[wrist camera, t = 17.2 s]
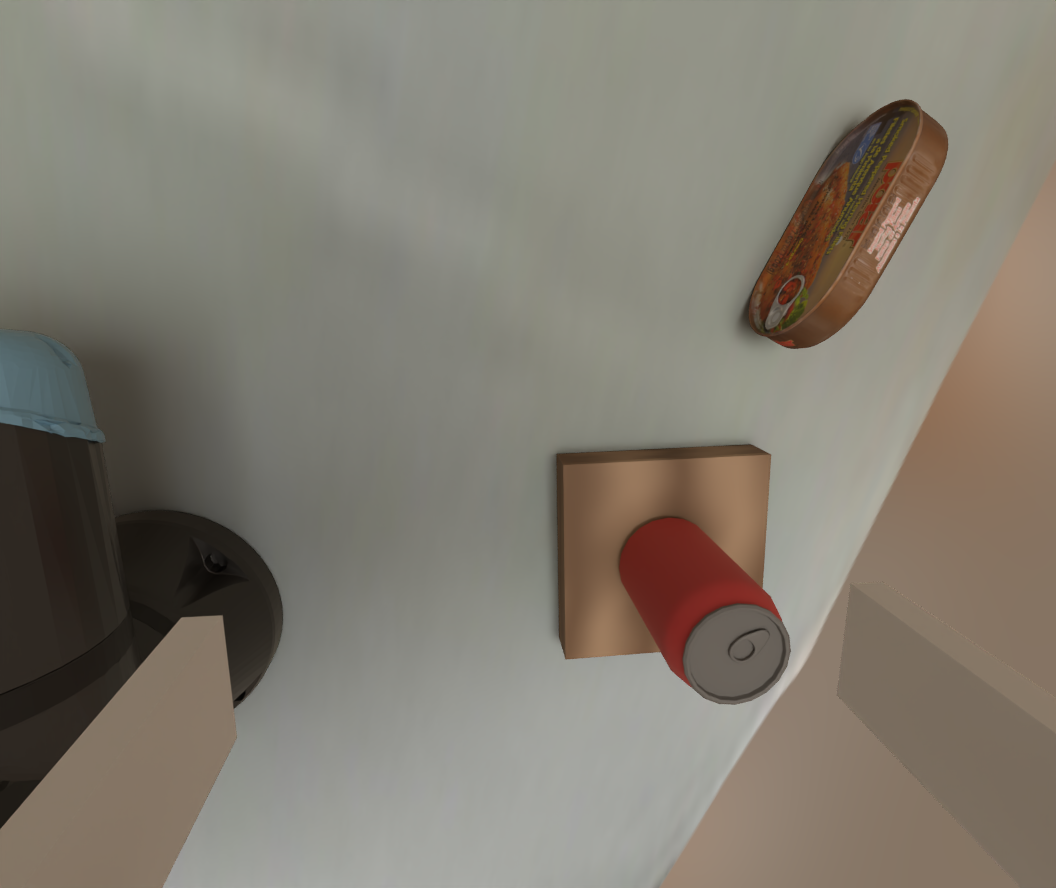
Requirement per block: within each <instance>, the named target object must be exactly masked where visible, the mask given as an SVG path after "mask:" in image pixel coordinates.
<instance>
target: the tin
mask: <svg viewBox="0 0 1056 888" xmlns="http://www.w3.org/2000/svg"><path fill="white" fill-rule="evenodd" d="M947 151H948V138H947V134H946V131H945V130H944V128H943V127H942V126H941V125H940V124H939V123H938V122H937V121H936V120H934V119H933V118H932V117H931V116H929V115H928V114H927V113H925V112H924V111H923V110H921V107H920V106H919V105H918V103H916V102H914V101H912V100H907V99H904V100H899V101H895V102H892V103H890V104H888V105H886V106H884V107H882V108H880V109H879V110H877V111H876V112H874V113H873V114H871V115H870V116H869V117H867V118H866V119H865V120H864V121H862V122H861V123H860V124H859V125H858V126H856V127H855V128H854V129H853V130H852V131H851V132H850V133H849V134H848V135H847V136H846V137H845V138H844V139H843V140H842V141H841V142H840V143H839V144H838V145H837V147H836V148H835V149H834V150H833V152H832V153H831V154H830V155H829V157H828V158H827V159H826V161H825V162H824V164H823V165H822V167H821V168H820V170H819V171H818V173H817V175H816V176H815V178H814V180H813V181H812V183H811V185H810V187H809V189H808V191H807V192H806V194H805V196H804V198H803V200H802V201H801V203H800V205H799V207H798V208H797V210H796V212H795V214H794V216H793V218H792V220H791V221H790V223H789V225H788V227H787V229H786V230H785V232H784V234H783V236H782V238H781V240H780V241H779V243H778V245H777V246H776V248H775V250H774V252H773V254H772V256H771V257H770V259H769V261H768V263H767V265H766V266H765V268H764V270H763V272H762V274H761V276H760V277H759V279H758V281H757V283H756V286H755V288H754V291H753V294H752V297H751V301H750V305H749V322H750V325H751V327H752V329H753V330H754V331H755V332H756V333H757V334H759V335H762V336H766V337H768V338H769V339H771V340H773V341H774V342H776V343H778V344H780V345H782V346H784V347H786V348H791V349H798V348H807V347H812V346H815V345H817V344H819V343H821V342H823V341H825V340H826V339H828V338H829V337H831V336H832V335H834V334H835V333H836V332H838V331H839V330H840V329H841V328H842V327H844V326H845V325H846V324H847V323H848V322H849V321H850V320H851V318H852V317H853V316H854V315H855V314H856V313H857V312H858V310H859V309H860V308H861V307H862V306H863V304H864V303H865V301H866V300H867V298H868V297H869V295H870V294H871V292H872V290H873V288H874V287H875V285H876V283H877V282H878V280H879V278H880V277H881V275H882V273H883V272H884V270H885V268H886V266H887V265H888V263H889V261H890V260H891V258H892V256H893V254H894V253H895V251H896V249H897V247H898V246H899V244H900V242H901V241H902V239H903V237H904V236H905V234H906V232H907V230H908V229H909V227H910V225H911V223H912V222H913V220H914V218H915V216H916V215H917V213H918V211H919V209H920V208H921V206H922V204H923V203H924V201H925V199H926V197H927V196H928V194H929V192H930V190H931V189H932V187H933V185H934V183H935V182H936V180H937V178H938V176H939V174H940V172H941V170H942V168H943V165H944V163H945V159H946V156H947Z"/></svg>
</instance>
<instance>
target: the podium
mask: <svg viewBox="0 0 1056 888" xmlns="http://www.w3.org/2000/svg"><path fill="white" fill-rule="evenodd" d="M770 464H771V454H769V453H767V452H765V451H763V450H761V449H759V448H757V447H755V446H753V445H730V446H710V447H689V448H669V449H648V450H628V451H607V452H586V453H566V454H557V522H558V592H559V638H560V642H561V645H562V649H563V652H564V656H565V659H577V658H589V657H602V656H615V655H627V654H640V653H653V652H661V651H660V650H659V648H658V646H657V644H656V643H655V641H654V639H653V637H652V635H651V634H650V632H649V630H648V628H647V626H646V625H645V623H644V621H643V619H642V618H641V616H640V614H639V612H638V610H637V609H636V607H635V605H634V603H633V602H632V600H631V598H630V596H629V594H628V593H627V591H626V589H625V587H624V585H623V584H622V582H621V577H620V571H619V564H620V558H621V553H622V551H623V549H624V547H625V545H626V543H627V541H628V539H629V538H630V537H631V536H632V535H633V534H634V533H635V532H636V531H637V530H638V529H639V528H641V527H643V526H644V525H646V524H648V523H650V522H652V521H655V520H660V519H664V518H677V519H684V520H687V521H689V522H691V523H693V524H696V525H697V526H698V527H699V528H700V529H701V530H702V531H703V532H705V533H706V534H707V535H708V536H709V537H710V538H711V539H712V540H713V541H714V542H715V543H716V544H717V545H718V546H719V547H720V548H721V549H722V550H723V551H724V552H725V553H726V554H727V555H728V556H729V557H730V558H731V559H732V560H733V561H734V562H736V563H737V564H738V565H739V566H740V567H741V568H742V569H743V570H744V571H745V572H746V573H747V574H748V575H749V576H750V577H751V578H752V579H753V580H754V581H755V582H756V583H757V584H758V585H759V586H760V587H761V588H763V572H764V557H765V541H766V526H767V511H768V495H769V480H770Z"/></svg>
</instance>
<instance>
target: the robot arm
mask: <svg viewBox="0 0 1056 888" xmlns="http://www.w3.org/2000/svg"><path fill="white" fill-rule="evenodd" d="M103 442H106V440H105V435H104V433H103V432H102V431H101V430H100V429H99V428H97V425H96V421H95V417H94V412H93V408H92V404H91V400H90V396H89V392H88V388H87V384H86V380H85V375H84V371H83V369H82V366H81V364H80V362H79V360H78V359H77V357H76V356H75V355H74V354H73V352H72V351H71V350H69V349H68V348H67V347H66V346H65V345H63V344H62V343H60V342H59V341H57V340H55V339H53V338H51V337H48V336H46V335H43V334H39V333H35V332H29V331H20V330H10V329H0V888H162V887H163V885H164V883H165V881H166V879H167V877H168V875H169V873H170V871H171V869H172V867H173V865H174V863H175V861H176V859H177V857H178V855H179V853H180V851H181V849H182V847H183V845H184V843H185V841H186V839H187V837H188V835H189V833H190V831H191V829H192V827H193V825H194V823H195V821H196V819H197V817H198V815H199V813H200V811H201V809H202V807H203V805H204V803H205V801H206V799H207V797H208V795H209V793H210V791H211V789H212V787H213V785H214V783H215V781H216V779H217V777H218V775H219V773H220V771H221V769H222V766H223V764H224V762H225V760H226V758H227V756H228V754H229V752H230V750H231V748H232V746H233V744H234V742H235V740H236V738H237V733H236V725H235V716H234V708H235V707H237V706H238V705H239V704H240V703H241V702H243V701H244V700H245V699H246V698H247V697H248V696H249V695H250V693H251V692H252V691H253V690H254V689H255V687H256V686H257V685H258V683H259V682H260V680H261V679H262V677H263V676H264V674H265V672H266V670H267V668H268V666H269V664H270V663H271V661H272V659H273V657H274V655H275V652H276V650H277V647H278V645H279V641H280V637H281V632H282V623H283V614H282V605H281V599H280V595H279V592H278V589H277V586H276V583H275V581H274V579H273V577H272V575H271V573H270V571H269V569H268V568H267V566H266V565H265V563H264V562H263V561H262V559H261V558H260V557H259V556H258V554H257V553H256V552H255V551H254V550H253V549H252V548H251V547H250V546H249V545H248V544H247V543H246V542H244V541H243V540H242V539H241V538H239V537H238V536H237V535H235V534H234V533H232V532H231V531H229V530H228V529H226V528H224V527H222V526H220V525H218V524H216V523H214V522H212V521H209V520H207V519H204V518H201V517H198V516H195V515H191V514H187V513H181V512H175V511H162V510H155V511H141V512H135V513H130V514H125V515H122V516H119V517H116V518H115V516H114V511H113V505H112V499H111V493H110V488H109V482H108V476H107V470H106V465H105V459H104V453H103V447H102V443H103ZM837 696H838V697H839V698H840V699H841V700H842V701H843V702H844V703H845V704H846V705H847V706H848V708H849V709H850V710H851V711H852V712H853V713H854V714H855V715H856V716H857V717H858V718H859V719H860V720H861V721H862V722H863V723H864V724H865V725H866V727H867V728H868V729H869V730H870V731H871V732H872V733H873V734H874V735H875V736H876V737H877V738H878V739H879V740H880V741H881V742H882V743H883V744H884V745H885V746H886V748H887V749H888V750H889V751H890V752H891V753H892V754H893V755H894V756H895V757H896V758H897V759H898V760H899V761H900V762H901V763H902V764H903V765H904V766H905V768H906V769H908V771H909V772H910V773H911V774H912V775H913V776H914V777H915V778H916V779H917V780H918V781H919V782H920V783H921V784H922V785H923V786H924V787H925V788H926V790H927V791H928V792H929V793H930V794H931V795H932V796H933V797H934V798H935V799H936V800H937V801H938V802H939V803H940V804H941V805H942V806H943V807H944V808H945V810H946V811H948V813H949V814H950V815H951V816H952V817H953V818H954V819H955V820H956V821H957V822H958V823H959V824H960V825H961V826H962V827H963V828H964V830H965V831H966V832H967V833H968V834H969V835H970V836H971V837H972V838H973V839H974V840H975V841H976V842H977V843H978V844H979V845H980V846H981V847H982V848H983V849H984V850H985V852H986V853H987V854H988V855H989V856H990V857H991V858H992V859H993V860H994V861H995V862H996V863H997V864H998V865H999V866H1000V867H1001V868H1002V869H1003V870H1004V871H1005V872H1006V874H1007V875H1008V876H1009V877H1010V878H1011V879H1012V880H1013V881H1014V882H1015V883H1016V884H1017V885H1018V886H1019V887H1020V888H1056V697H1054V696H1053V695H1051V694H1050V693H1049V692H1047V691H1046V690H1044V689H1043V688H1041V687H1039V686H1038V685H1037V684H1035V683H1033V682H1032V681H1031V680H1029V679H1028V678H1026V677H1025V676H1023V675H1022V674H1020V673H1019V672H1017V671H1016V670H1014V669H1012V668H1011V667H1010V666H1008V665H1007V664H1005V663H1004V662H1002V661H1001V660H999V659H998V658H996V657H995V656H993V655H992V654H990V653H989V652H987V651H986V650H984V649H983V648H981V647H980V646H978V645H977V644H975V643H974V642H972V641H971V640H969V639H968V638H966V637H965V636H963V635H962V634H960V633H959V632H957V631H956V630H954V629H953V628H951V627H950V626H949V625H947V624H946V623H944V622H942V621H941V620H940V619H938V618H936V617H935V616H933V615H932V614H931V613H929V612H928V611H926V610H925V609H923V608H922V607H920V606H919V605H917V604H916V603H914V602H913V601H911V600H910V599H908V598H907V597H905V596H904V595H902V594H901V593H899V592H898V591H896V590H895V589H893V588H892V587H890V586H889V585H887V584H886V583H884V582H869V583H851V584H850V592H849V600H848V608H847V616H846V625H845V632H844V640H843V648H842V657H841V665H840V673H839V681H838V690H837Z"/></svg>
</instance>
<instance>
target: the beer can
mask: <svg viewBox="0 0 1056 888" xmlns="http://www.w3.org/2000/svg"><path fill="white" fill-rule="evenodd" d="M619 571H620V577H621V582H622V584H623V585H624V587H625V589H626V591H627V593H628V594H629V596H630V598H631V600H632V602H633V603H634V605H635V607H636V609H637V610H638V612H639V614H640V616H641V618H642V619H643V621H644V623H645V625H646V626H647V628H648V630H649V632H650V634H651V635H652V637H653V639H654V641H655V643H656V644H657V646H658V648H659V650H660V651H661V653H662V655H663V657H664V659H665V660H666V662H667V664H668V666H669V667H670V669H671V671H673V672H674V673H675V674H676V675H677V676H678V677H679V678H681V679H682V680H683V681H684V682H685V683H686V684H688V685H689V686H690V687H692V688H693V689H694V690H695V691H696V692H697V693H699V694H700V695H701V696H702V697H703V698H705V699H708V700H710V701H713V702H716V703H718V704H734V705H735V704H739V703H744V702H748V701H752V700H753V699H755V698H757V697H759V696H761V695H763V694H764V693H766V692H767V691H768V690H769V689H770V688H772V687H773V686H774V685H775V684H776V683H777V682H778V681H779V679H780V677H781V676H782V674H783V672H784V671H785V669H786V667H787V664H788V660H789V656H790V652H791V649H790V639H789V634H788V632H787V630H786V628H785V626H784V624H783V622H782V619H781V617H780V615H779V613H778V611H777V609H776V607H775V604H774V603H773V601H772V599H771V597H770V596H769V595H768V594H767V593H766V592H765V591H764V590H763V589H762V588H761V587H760V586H759V585H758V584H757V583H756V582H755V581H754V580H753V579H752V578H751V577H750V576H749V575H748V574H747V573H746V572H745V571H744V570H743V569H742V568H741V567H740V566H739V565H738V564H737V563H736V562H734V561H733V560H732V559H731V558H730V557H729V556H728V555H727V554H726V553H725V552H724V551H723V550H722V549H721V548H720V547H719V546H718V545H717V544H716V543H715V542H714V541H713V540H712V539H711V538H710V537H709V536H708V535H707V534H706V533H705V532H703V531H702V530H701V529H700V528H699V527H698V526H697V525H696V524H693V523H691V522H689V521H687V520H684V519H677V518H664V519H660V520H655V521H652V522H650V523H648V524H646V525H644V526H643V527H641V528H639V529H638V530H637V531H636V532H635V533H634V534H633V535H632V536H631V537H630V538H629V539H628V541H627V543H626V545H625V547H624V549H623V551H622V553H621V558H620V564H619Z"/></svg>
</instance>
